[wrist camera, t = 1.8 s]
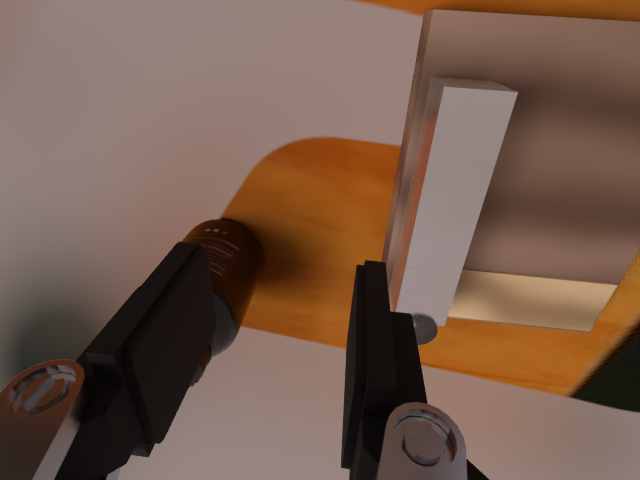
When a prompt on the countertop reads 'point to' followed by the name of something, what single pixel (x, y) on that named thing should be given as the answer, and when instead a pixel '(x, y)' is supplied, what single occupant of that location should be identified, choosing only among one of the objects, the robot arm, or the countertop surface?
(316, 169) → the countertop surface
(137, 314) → the robot arm
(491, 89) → the stool leg
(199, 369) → the supplement bottle
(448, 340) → the countertop surface
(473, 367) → the countertop surface
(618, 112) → the stool seat
